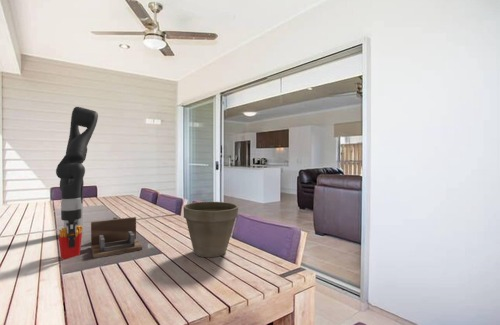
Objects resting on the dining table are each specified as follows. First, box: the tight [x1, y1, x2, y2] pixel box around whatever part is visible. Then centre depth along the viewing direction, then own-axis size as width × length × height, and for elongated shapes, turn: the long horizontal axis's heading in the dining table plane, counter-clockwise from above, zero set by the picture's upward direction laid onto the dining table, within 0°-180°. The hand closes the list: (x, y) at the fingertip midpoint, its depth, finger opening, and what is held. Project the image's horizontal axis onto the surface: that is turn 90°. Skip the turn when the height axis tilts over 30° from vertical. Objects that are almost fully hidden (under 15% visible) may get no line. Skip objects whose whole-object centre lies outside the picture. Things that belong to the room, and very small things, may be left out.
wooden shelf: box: [90, 216, 143, 259], centre depth 129 cm, size 17×20×12 cm
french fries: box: [57, 225, 84, 260], centre depth 120 cm, size 9×4×13 cm, turn 150°
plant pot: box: [182, 201, 239, 258], centre depth 125 cm, size 25×25×22 cm
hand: (71, 244), depth 120 cm, fingers open, 8 cm apart
